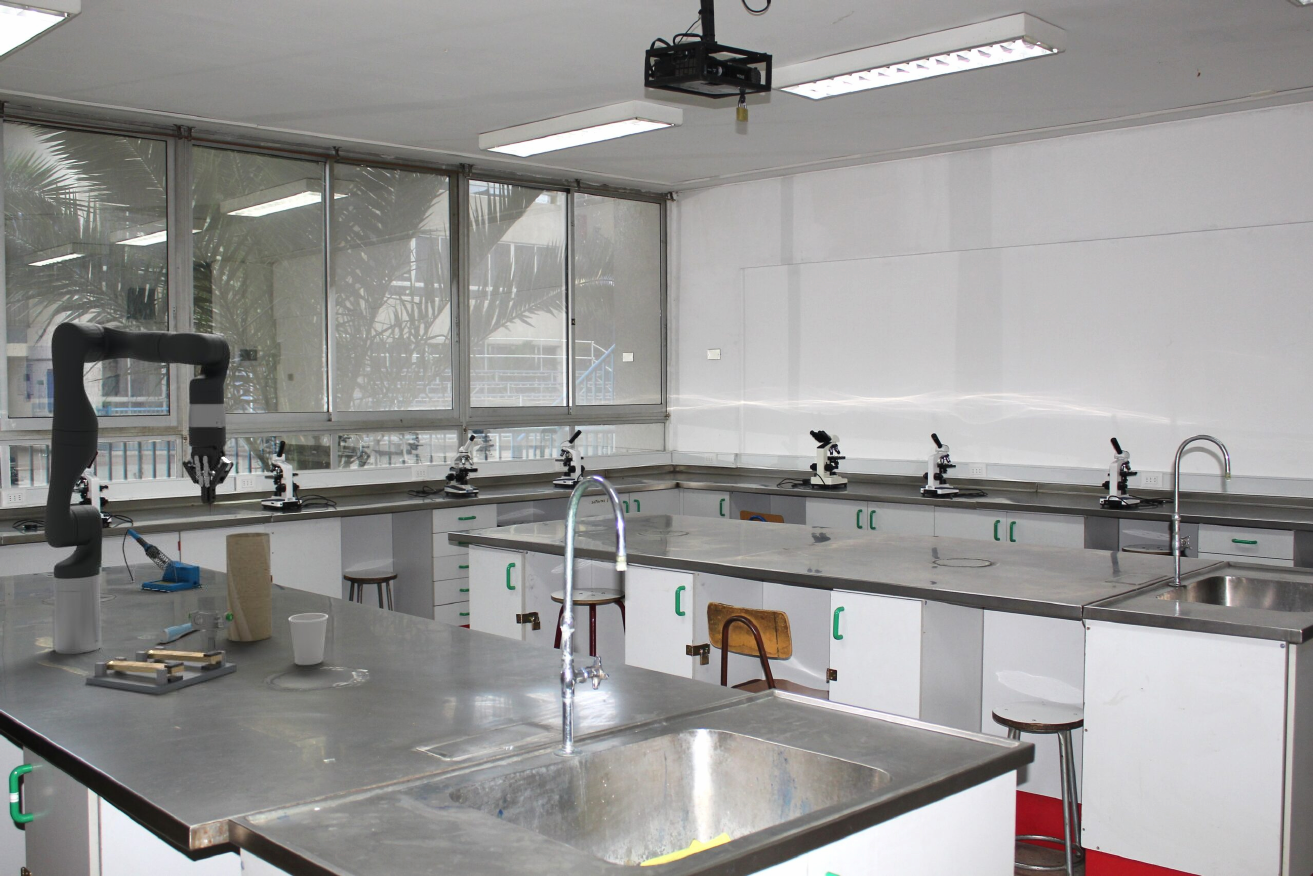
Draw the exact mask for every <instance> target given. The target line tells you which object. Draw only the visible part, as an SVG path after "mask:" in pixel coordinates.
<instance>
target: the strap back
mask: <svg viewBox="0 0 1313 876" xmlns="http://www.w3.org/2000/svg"><path fill="white" fill-rule="evenodd" d="M222 651H223V650H215V651H212V652H208V651H207V652H196V651H195V652H193V651H179V650H178V651H177V650H166V651H165V650H154V649H152V650H149V651H146V652H147V660H152V659H159V660H173V661H188V662H203V663H213V662H216V661H219V660H222Z"/></svg>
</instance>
